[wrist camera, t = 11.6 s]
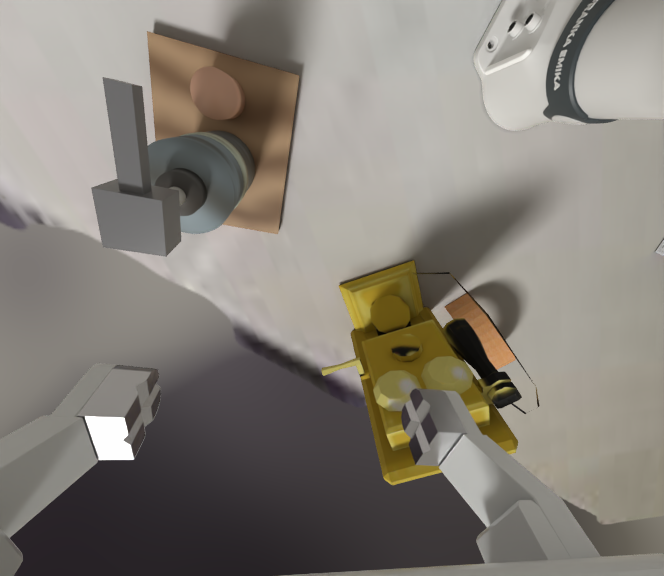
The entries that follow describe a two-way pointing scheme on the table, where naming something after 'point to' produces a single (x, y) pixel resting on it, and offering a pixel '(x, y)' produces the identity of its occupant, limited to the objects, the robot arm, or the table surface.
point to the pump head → (134, 183)
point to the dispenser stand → (220, 139)
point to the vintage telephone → (418, 365)
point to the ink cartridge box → (660, 249)
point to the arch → (482, 330)
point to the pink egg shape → (217, 94)
